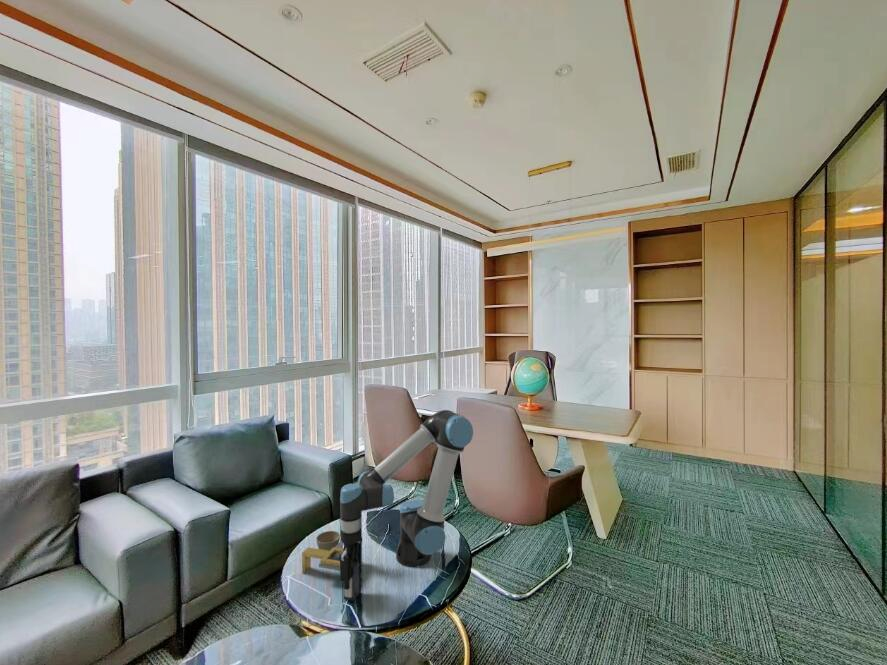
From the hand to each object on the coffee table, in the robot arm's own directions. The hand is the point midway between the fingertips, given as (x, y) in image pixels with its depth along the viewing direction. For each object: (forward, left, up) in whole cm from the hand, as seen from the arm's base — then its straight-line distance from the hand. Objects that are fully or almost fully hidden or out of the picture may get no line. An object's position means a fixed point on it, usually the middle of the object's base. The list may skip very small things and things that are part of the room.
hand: (351, 591), depth 140 cm
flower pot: (+23, -22, -2) cm, 32 cm away
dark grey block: (0, 0, -2) cm, 2 cm away
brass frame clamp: (+16, -12, -2) cm, 20 cm away
